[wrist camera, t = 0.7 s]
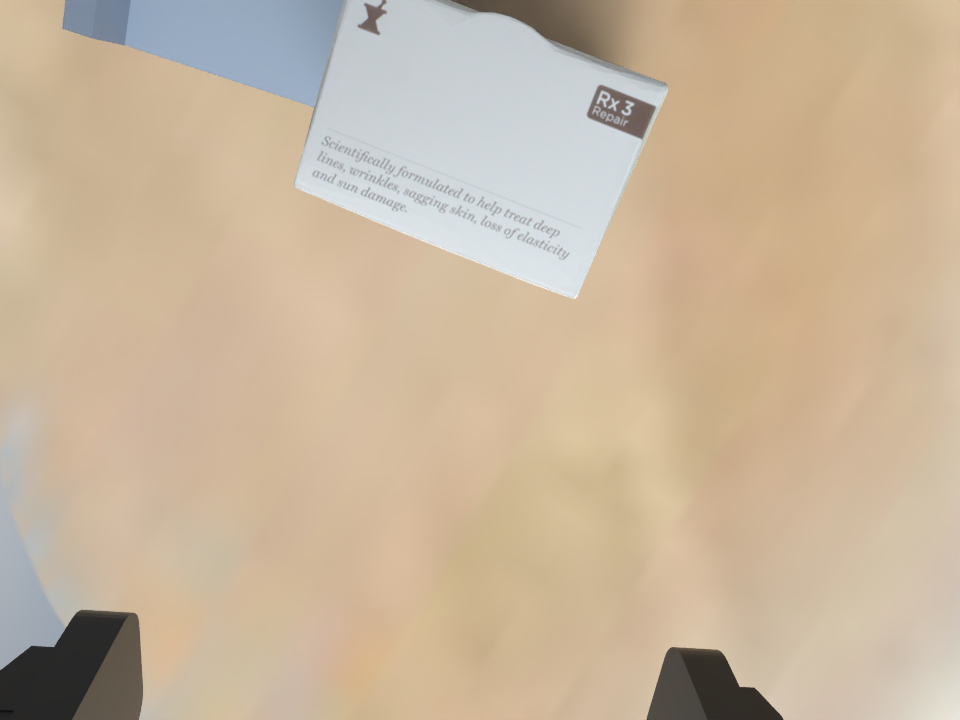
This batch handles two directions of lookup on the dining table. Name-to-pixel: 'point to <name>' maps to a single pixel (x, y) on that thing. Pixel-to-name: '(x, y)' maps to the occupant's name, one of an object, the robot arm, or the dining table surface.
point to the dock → (223, 37)
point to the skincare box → (476, 136)
